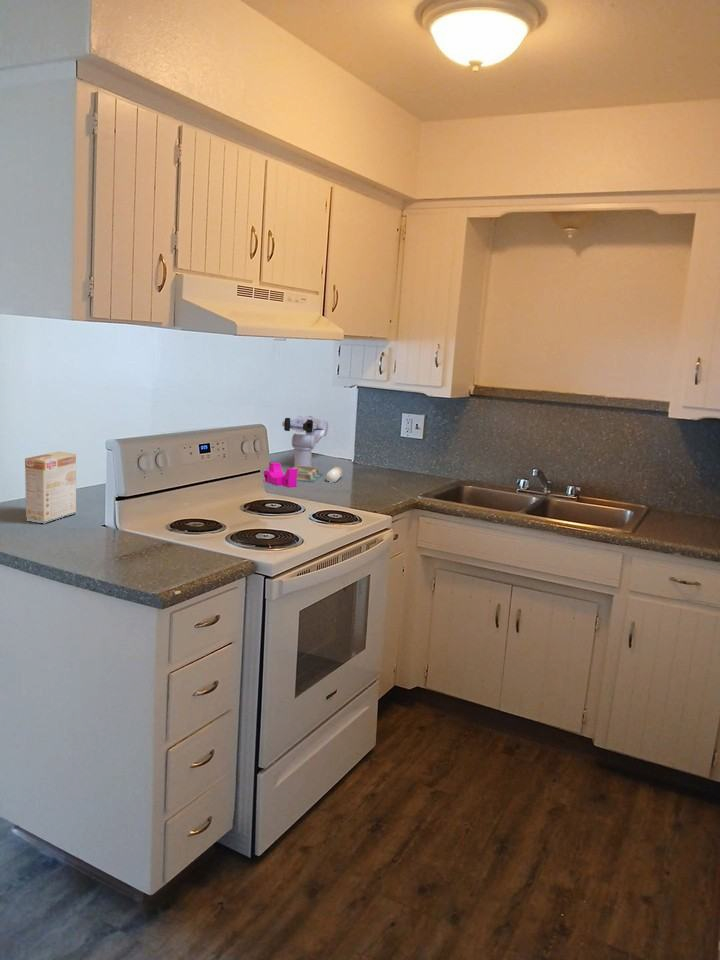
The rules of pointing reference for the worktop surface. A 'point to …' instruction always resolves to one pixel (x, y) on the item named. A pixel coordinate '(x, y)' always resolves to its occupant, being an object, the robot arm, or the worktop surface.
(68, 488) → the coffeecake box
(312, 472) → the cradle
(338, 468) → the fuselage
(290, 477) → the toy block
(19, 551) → the worktop surface
